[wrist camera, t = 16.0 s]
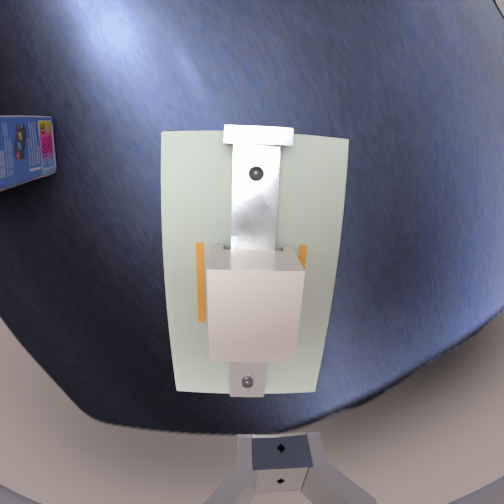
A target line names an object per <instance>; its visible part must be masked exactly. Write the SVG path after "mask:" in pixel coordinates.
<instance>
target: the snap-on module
mask: <svg viewBox="0 0 504 504" xmlns="http://www.w3.org/2000/svg"><path fill="white" fill-rule="evenodd" d="M304 277H305V270H304V268H303V266H302V264H301V262H300V260H299V258H298V257H297V255H296V253H295V251H294V249H293V247H292V246H282V249H281V251H274V250H232V249H224V244H213V247H212V251H211V255H210V259H209V262H208V266H207V307H208V338H209V361H213V362H294V360H295V352H296V345H297V337H298V329H299V321H300V313H301V305H302V296H303V287H304Z"/></svg>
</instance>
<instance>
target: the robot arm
mask: <svg viewBox="0 0 504 504" xmlns="http://www.w3.org/2000/svg"><path fill="white" fill-rule="evenodd" d="M495 1H496V3H497V5H498V7H499V9H500V11H501V12H502V14H503V16H504V0H495ZM285 491H286V492H287V491H301V492H302V493H303V494H304V495H305V497H307V499H308V500H309V501H310V502H311V503H312V504H377V503H376V500H375V498H374V497H372V496H371V495H370V494H368V493H367V492H366V491H364V490H363V489H362V488H360V487H359V486H358V485H356V484H355V483H354V482H353V481H352V480H350V479H349V478H348V477H346V476H345V475H344V474H343V473H342V472H340V471H339V470H338V469H336V468H335V467H334V466H333V465H328V461H327V458H326V453H325V449H324V445H323V441H322V437H321V434H320V433H319V432H310V433H291V434H278V435H237V470H233V471H232V472H231V473H230V474H229V475H228V476H227V478H226V479H225V480H224V481H223V482H222V483H221V485H220V486H219V487H218V488H217V489H216V490H215V491H214V493H213V494H212V495H211V496H210V497H209V498H208V499H207V500H206V502H205V503H204V504H249V503H250V501H251V500H252V498H253V497H254V495H255V493H267V492H285ZM0 504H41V503H38V502H36V501H33V500H31V499H29V498H27V497H25V496H23V495H20V494H18V493H16V492H14V491H12V490H10V489H8V488H6V487H4V486H2V485H1V484H0ZM448 504H504V476H503V477H501V478H499V479H497V480H496V481H494V482H492V483H490V484H488V485H486V486H484V487H482V488H480V489H478V490H476V491H474V492H472V493H470V494H468V495H466V496H464V497H462V498H459V499H457V500H455V501H453V502H450V503H448Z"/></svg>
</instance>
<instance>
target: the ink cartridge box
mask: <svg viewBox="0 0 504 504" xmlns="http://www.w3.org/2000/svg"><path fill="white" fill-rule="evenodd" d="M56 169H57V165H56V154H55V144H54V132H53V119H52V117H47V116H0V192H1V191H4V190H7V189H9V188H12V187H15V186H18V185H21V184H24V183H26V182H29V181H32V180H36V179H39V178H43V177H46V176H49V175H52V174H54V173H55V172H56Z"/></svg>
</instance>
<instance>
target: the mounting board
mask: <svg viewBox="0 0 504 504" xmlns="http://www.w3.org/2000/svg"><path fill="white" fill-rule="evenodd" d="M233 145H234V144H224V131H164V132H161V216H162V243H163V262H164V278H165V291H166V304H167V315H168V325H169V335H170V344H171V352H172V361H173V369H174V376H175V383H176V390H177V391H186V392H202V393H228V394H230V362H213V361H209V338H208V307H207V266H208V262H209V259H210V255H211V251H212V247H213V244H224V249H231V213H232V176H233ZM348 145H349V139H341V138H333V137H323V136H313V135H302V134H293V146H288V147H284V146H281V148H280V169H279V189H278V208H277V225H276V242H275V251H281V249H282V246H292V247H293V249H294V251H295V253H296V255H297V257H298V258H299V260H300V262H301V264H302V266H303V268H304V270H305V277H304V287H303V296H302V305H301V313H300V321H299V329H298V337H297V345H296V352H295V360H294V362H267V366H266V378H265V390H264V394H278V393H304V392H315V389H316V384H317V380H318V375H319V370H320V365H321V360H322V355H323V350H324V345H325V339H326V334H327V328H328V322H329V316H330V310H331V304H332V298H333V291H334V284H335V277H336V270H337V263H338V255H339V247H340V238H341V230H342V220H343V210H344V200H345V188H346V176H347V162H348Z"/></svg>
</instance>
